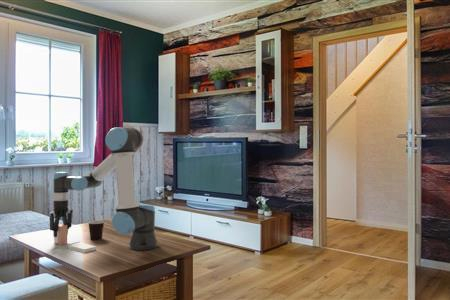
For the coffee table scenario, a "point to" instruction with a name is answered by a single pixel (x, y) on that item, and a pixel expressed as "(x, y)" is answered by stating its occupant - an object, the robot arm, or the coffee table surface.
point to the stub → (62, 234)
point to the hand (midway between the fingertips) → (60, 241)
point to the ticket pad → (81, 247)
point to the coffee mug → (96, 230)
